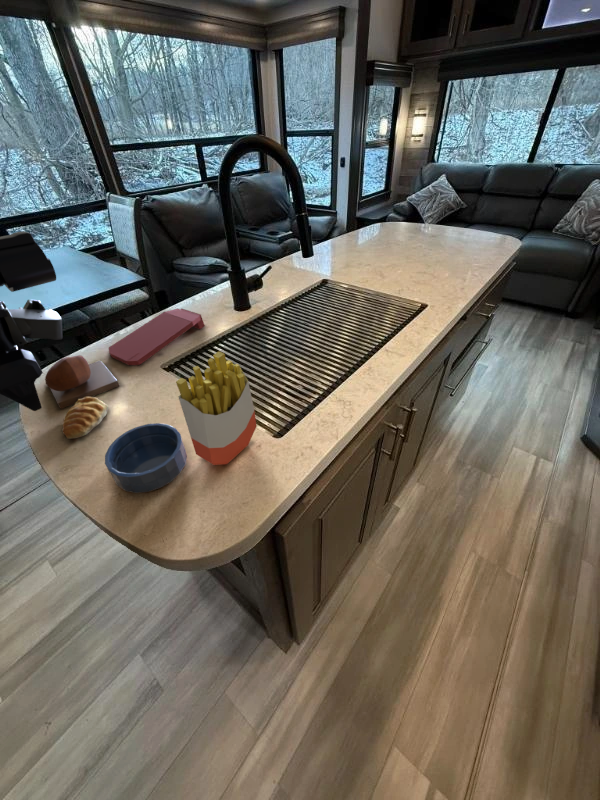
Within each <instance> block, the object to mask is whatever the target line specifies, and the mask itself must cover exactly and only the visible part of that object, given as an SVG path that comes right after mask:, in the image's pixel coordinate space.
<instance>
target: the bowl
mask: <svg viewBox="0 0 600 800" xmlns="http://www.w3.org/2000/svg"><path fill="white" fill-rule="evenodd" d="M187 459H188V455H187V450H186V447H185V443H184V441H183V438H182V435H181V433H180V432H179V431H178V429H177V428H176V427H174V426H172V425H170V424H167V423H160V422H157V423H146V424H143V425H138V426H135V427H133V428H131V429H129V430H127V431H124V433H122V434H120V435H119V436H118V437H117V438H116V439H114V441H112V443H110V445H109V446H108V447H107V450H106V452H105V454H104V465H105V467H106V468H107V470H108V472H109V474H110V475H111V477H112V478H113V481H114V483H115V484H116V486H117V487H119V488H120V489H121V490H123V491H125V492H127V493H134V494H139V493H149V492H152V491H155V490H158V489H161V488H163V487H165V486H166V485H169V483H171V482H173V481H174V480H175V479H176V478H177V477H178V476H179V475H180V474H181V472H182V471H183V470H184V467H186V463H187Z"/></svg>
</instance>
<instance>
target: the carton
mask: <svg viewBox="0 0 600 800" xmlns="http://www.w3.org/2000/svg"><path fill="white" fill-rule="evenodd" d="M205 326H206V325H205V322H204V320H203V317H202V314H201V313H198V312H194V311H191V310H188V309H184V308H175V309H169V310H166V311H162V312H161V313H159V314H158V315H157V316H155V317H153V318H152V319H151V320H149V321H147V322H145V323H144V324H143V325H141V326H140V327H138V328H137V329H135V330H134V331H132V332H130V333H129V334H127V335H126V336H124V337H122V338H121V339H120V340H118V341H116V342H115V343H114V344H112V345H110V346H109V347H108V354H109V355H110V356H111V357H110V358H113V359H115V360H117V361H119V362H120V363H121V362H122V363H123V364H126V365H128V366H140V365H142V364H143V363H145V362H146V361H147V360H149V359H150V358H151V357H153V356H154V355H156V354H158V352H160V351H161V350H162V349H164V348H165V347H166V346H168V345H169V344H171V343H172V342H173V341H175V340H176V339H178V338H179V337H181V336H182V335H183V334H185V333H186V332H187V331H189V330H191V328H195V329H198V330H201V329H203V328H204V327H205Z"/></svg>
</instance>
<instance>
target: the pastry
mask: <svg viewBox="0 0 600 800" xmlns="http://www.w3.org/2000/svg"><path fill="white" fill-rule="evenodd" d="M108 409H109V406H108V404H107V403H105V402H103V401H102V400H101V399H99V398H98V397H96V396H93V397H84V398H82V399H78V401H77V402H76V403H75V404H73V406H71V407H69V409H68V410H67V412H66V414H65V416H64V419H63V424H62V433H63V434H64V436H65V437H66V439H78V438H81V437H82V438H83V437H84V436H86V435H88V434H89V433H91V431H92V430H94V429H95V428H97V426H99V424H100V423H101V422H102V421H103V420H104V417H106V415H107V414H108Z"/></svg>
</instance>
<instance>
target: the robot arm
mask: <svg viewBox="0 0 600 800" xmlns="http://www.w3.org/2000/svg"><path fill="white" fill-rule="evenodd" d="M56 280H57V273H56V270H55V268H54V265H53V263H52V260H51V259H50V258H48V257H47V255H46V253H45V252H44V251H43V249H42V247H41V246H40V245H39V244H38V243H37V242H36V240H35V238H34V237H33V234H32V233H30V232H28V231H25V230H22V231H21V230H20V231H16V232H13V233H10V234H8V235H3V236H0V288H1V287H3V286H5V287H6V289H8V290H9V291H10V292H11V293H14V292H18V291H21V290H25V289H26V290H27V289H29V288H33V287H37V286H42V285H44V284H48V283H53V282H56ZM62 319H63V318H62V316H60V314H59V313H58V312H57V311H55V310H53V309H52V308H48V309H46V308H45V306H44V305H43V303H42V302H41V300H39V299H27V300H26V301H25V304H24V306H23V307H18V308H8V307H7V304H6V303H5V301H4V300H0V395H1V396H3V397H5V398H7V399H10V400H12V401H14V402H15V403H18V404H20V405H21V406H22V407H23V406H24V407H25V408H27V409H29V410H30V411H32V412H37V411H39V410H42V409H43V406H42V403H41V400H40V397H39V393H38V390H37V388H36V384H35V382H36V381H37V379H39V378H41V376H42V374H43V373H44V372H43V370H42V368H41V366H40V364H39V362H38V361H37V359H36V357H35V356H34V354H33V353H32V351H29V350H26V349H23V348H24V346H25V345H26V344H28V342H27V340H26V339H32V340H33V339H36V340H37V339H38V340H39V339H41V340H43V339H47V340H48V339H51V340H53V341H59V340H62V339H63V337H64V336H63V320H62Z"/></svg>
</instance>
